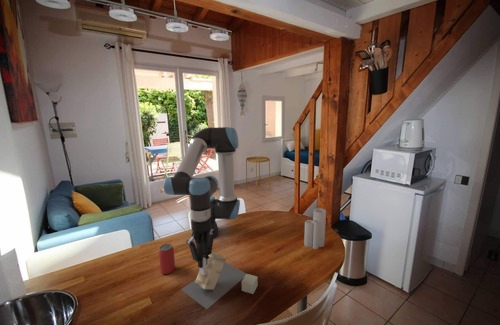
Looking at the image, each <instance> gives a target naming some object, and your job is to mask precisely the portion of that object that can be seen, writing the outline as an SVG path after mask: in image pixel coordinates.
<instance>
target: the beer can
mask: <svg viewBox="0 0 500 325" xmlns="http://www.w3.org/2000/svg"><path fill="white" fill-rule="evenodd" d="M158 259H159V260H158V261H159V271H160V273H161V274H162V275H169V274H172V273H173V272H174V271H175V270H176V262H175V260H176V259H175V251H174V247H173V245H172V244H170V243H165V244H162V245H160V247H159V250H158Z"/></svg>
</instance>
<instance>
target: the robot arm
mask: <svg viewBox="0 0 500 325" xmlns="http://www.w3.org/2000/svg"><path fill="white" fill-rule="evenodd" d="M207 149H214V152H215V154H216V155H217V160H218V162H217V164H218V179H217V178H216V177H215V176H213V175H207V176H204V177H193V176H194V174H195V172H196V170H197V167H198V165H199V163H200V160H201V158H202V156H203V154H204V153H205V152H206V151H207ZM237 149H239V135H238V132H237V130H236V129H235V128H234V127H230V126H229V127H228V126H227V127H225V126H223V127H210V126H209V127H205V128H203V129H201V130H199V131H197V132H196V133H195V134H194V135H193V136H192V138H191V139H190V140H189V147H188V148H187V151H185V152H186V153H185V155H184V156H183V158H182V160H181V162H180V164H179V165H178V167H177V170H176V171H175V174H174V175H173V176H168V177H166V178H164V181H163V183H162V184H163V186H162V187H163V191H164V193H165V194H167V195H171V196H189V205H190V206H189V207H190V226H191V237H190V239H186V241H185V242H186V244H187V245H188V247H189V249H190V250H189V251H190V254H191V256H192V260H194V261H196V263H197V267H198V268H199V271H200V273H201V274H202V275H206V274H207V267H206V265H207V263H208V262H207V259H209V256H208V255H210V254H211V252H212V251H213V244H214V238H216V237H217V236H218V235H219V234H220V229H219V226H218V225H217V221H216V220H236V219H237V218H238V216H239V213H240V207H241V206H240V205H241V200H240V199H238V195H237V194H235V176H234V175H235V174H234V172H235V170H234V167H235V166H234V154H235V153H236V152H237ZM218 189H219V195H218V196H217V197H216V198H215V196H214V194H215V193H216V192H217V190H218Z"/></svg>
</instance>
